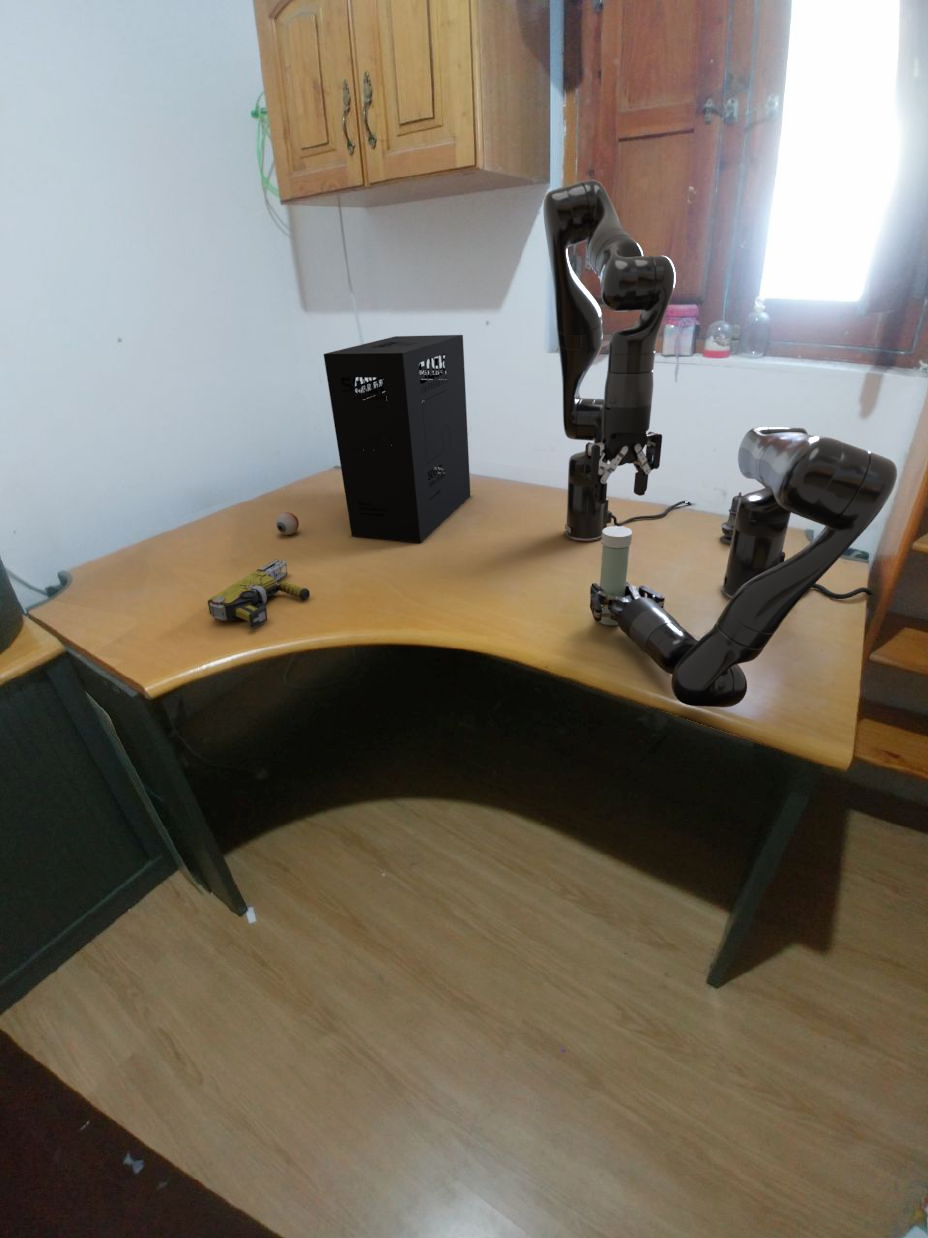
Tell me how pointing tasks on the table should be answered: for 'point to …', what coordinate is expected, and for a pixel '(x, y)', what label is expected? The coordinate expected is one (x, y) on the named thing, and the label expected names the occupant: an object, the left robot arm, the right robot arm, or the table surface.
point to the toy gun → (253, 595)
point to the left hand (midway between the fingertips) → (619, 498)
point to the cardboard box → (401, 434)
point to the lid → (616, 537)
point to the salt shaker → (730, 521)
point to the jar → (613, 574)
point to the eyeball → (287, 523)
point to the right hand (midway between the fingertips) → (605, 585)
